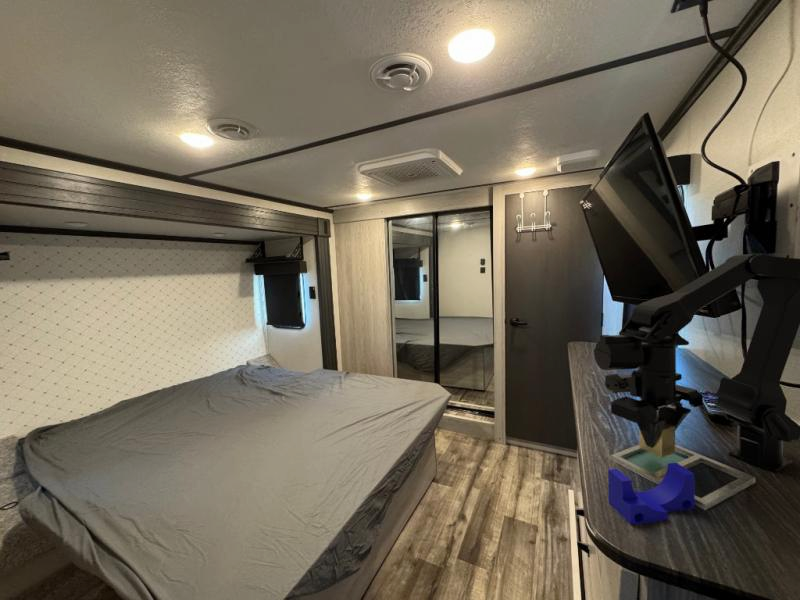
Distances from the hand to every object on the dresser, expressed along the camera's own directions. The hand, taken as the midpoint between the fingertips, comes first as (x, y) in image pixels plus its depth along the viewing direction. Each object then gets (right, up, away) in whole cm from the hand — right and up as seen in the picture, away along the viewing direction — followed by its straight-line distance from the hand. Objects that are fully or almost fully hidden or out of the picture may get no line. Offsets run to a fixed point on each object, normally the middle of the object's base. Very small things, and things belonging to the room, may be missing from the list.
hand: (656, 443), depth 61 cm
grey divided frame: (+1, -4, -3) cm, 5 cm away
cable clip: (-10, -5, -12) cm, 16 cm away
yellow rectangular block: (0, -1, 0) cm, 1 cm away
